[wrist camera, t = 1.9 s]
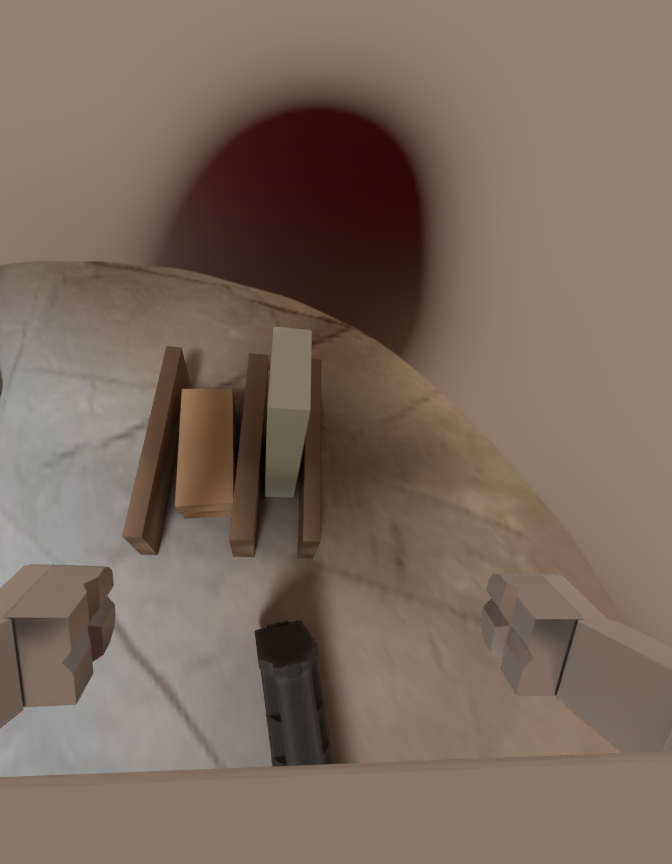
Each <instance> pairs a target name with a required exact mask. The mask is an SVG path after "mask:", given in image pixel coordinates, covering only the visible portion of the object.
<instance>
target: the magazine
mask: <svg viewBox="0 0 672 864" xmlns="http://www.w3.org/2000/svg"><path fill="white" fill-rule="evenodd" d="M255 638H256V646H257V655H258V663H259V668H260V669H261V676H262V683H263V691H264V699H265V708H266V718H267V724H268V732H269V740H270V749H271V759H272V765H273V767H274V766H298V765H323V764H333V759H332V753H331V743H330V739H329V734H328V728H327V722H326V715H325V709H324V699H323V696H322V690H321V683H320V676H319V670H318V663H317V655H318V651H317V644H316V643H315V641H314V640H313V638H312V637H311V635H310V633H309V632H308V630H307V629H306V627H305V626H304V624H303V623H302V621H294V622H290V623H289V622H288V621H284V622H279V623H275V624H270V625H267V628H263V629H259V630H256V631H255Z"/></svg>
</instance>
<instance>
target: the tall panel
mask: <svg viewBox="0 0 672 864" xmlns="http://www.w3.org/2000/svg"><path fill="white" fill-rule="evenodd" d="M311 344H312V330H305V329H295V328H284V327H273V340H272V353H271V366H270V379H269V392H268V405H267V438H266V474H265V497H288V498H294V493H295V488H296V482H297V477H298V472H299V467H300V461H301V456H302V451H303V446H304V441H305V435H306V430H307V425H308V420H309V415H310V399H311Z"/></svg>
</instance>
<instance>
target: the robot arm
mask: <svg viewBox="0 0 672 864" xmlns="http://www.w3.org/2000/svg"><path fill="white" fill-rule="evenodd" d="M113 586H114V583H113V573H112V570H111V569H110V568H109V567H103V566H76V565H49V564H30V565H26V566H23V567H22V568H21V569H20V570H19V571H18V572H17V573H16V574H15V575H14V576H13V577H12V578H11V579H10V580H8V581H7V582H6V583H5V584H4V585H3V586H2V587H1V588H0V728H1V727H3V726H4V725H5V724H6V723H8V722H9V721H10V720H11V719H13V718H14V717H15V716H16V715H18V714H19V713H20V712H21V711H23V707H37V706H58V705H76V704H77V702H78V700H79V698H80V697H81V695H82V693H83V691H84V689H85V687H86V686H87V684H88V682H89V680H90V678H91V677H92V675H93V665H92V662H94V661H95V660H96V659H98V658H99V657H101V656H102V655H104V653H105V651H106V649H107V647H108V645H109V643H110V640H111V636H112V633H113V630H114V624H115V604H114V603H113V602H112V601H111V600H110V599H109V597H108V596H107V595H108V594H109V592H110V591H111V589H112V587H113ZM487 592H488V593H489V595H490V597H491V599H490V600H489V601H488V602H487V603H486V604H485V605H484V606H483V610H482V616H481V627H482V634H483V637H484V640H485V643H486V645H487V647H488V648H489V650H490V652H491V653H493V654H494V655H496V656H497V657H498V658H500V659H501V660H502V664H501V668H500V669H501V671H502V672H503V674H504V676H505V677H506V679H507V681H508V682H509V684H510V686H511V687H512V689H513V691H514V693H515V694H516V696H557V697H556V699H558V700H559V701H560V702H561V703H563V704H564V705H565V706H566V707H567V708H569V709H570V710H571V711H572V712H573V713H575V714H576V715H577V716H578V717H579V718H581V719H582V720H583V721H584V722H585V723H587V724H588V725H589V726H590V727H591V728H593V729H594V730H595V731H596V732H597V733H599V734H600V735H601V736H602V737H604V738H605V739H606V740H607V741H608V742H610V743H611V744H612V745H613V746H614V747H616V748H617V749H618V750H619V751H620V752H622V753H609V754H586V755H560V756H532V757H505V758H478V759H451V760H423V761H398V762H373V763H348V764H323V765H298V766H274V767H249V768H224V769H199V770H173V771H148V772H122V773H97V774H71V775H46V776H21V777H0V864H672V648H671V647H669V646H667V645H665V644H663V643H661V642H659V641H657V640H654V639H652V638H650V637H648V636H646V635H644V634H642V633H640V632H638V631H636V630H634V629H632V628H630V627H628V626H626V625H624V624H622V623H620V622H618V621H616V620H608V619H607V618H606V617H605V616H604V615H603V614H601V613H600V612H599V611H598V610H597V609H596V608H595V607H594V606H593V605H592V604H591V603H590V602H589V601H588V600H587V599H586V598H585V597H584V596H583V595H582V594H581V593H580V592H579V591H578V590H577V589H576V588H575V587H573V586H572V585H571V584H570V583H569V582H568V581H567V580H566V579H565V578H564V577H563V576H562V575H559V574H557V573H535V574H492V576H491V577H490V579H489V581H488V586H487Z"/></svg>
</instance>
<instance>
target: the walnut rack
mask: <svg viewBox="0 0 672 864" xmlns="http://www.w3.org/2000/svg"><path fill="white" fill-rule="evenodd" d="M267 382H268V355H262V354H251V353H249V361H248V370H247V379H246V389H245V398H244V407H243V416H242V425H241V434H240V444H239V453H238V462H237V471H236V480H235V489H234V498H233V508H232V517H231V526H230V535H229V541H230V545H231V549H232V554H233V556H238V557H254V552H255V539H256V526H257V514H258V501H259V488H260V475H261V463H262V450H263V437H264V424H265V412H266V399H267ZM189 385H190V381H189V376H188V372H187V368H186V364H185V360H184V356H183V352H182V348H181V347H170V346H166V351H165V355H164V359H163V363H162V368H161V372H160V376H159V381H158V385H157V389H156V394H155V398H154V402H153V406H152V411H151V415H150V419H149V424H148V428H147V432H146V436H145V441H144V445H143V449H142V454H141V458H140V462H139V466H138V471H137V475H136V479H135V484H134V488H133V492H132V496H131V501H130V505H129V509H128V514H127V518H126V522H125V526H124V531H123V535H122V537H124V538H125V539H126V540H127V541H128V542H129V543H130V544H131V545H132V546H133V547H134V548H135V549H136V550H137V551H138V552H139V553H140V554H143V555H158V549H159V544H160V539H161V533H162V528H163V523H164V517H165V512H166V507H167V502H168V496H169V491H170V486H171V480H172V475H173V470H174V464H175V459H176V454H177V448H178V443H179V430H180V413H181V396H182V389H189ZM320 534H321V360H319V359H311V399H310V415H309V420H308V425H307V430H306V435H305V441H304V446H303V451H302V456H301V462H300V496H299V531H298V558H313V557H314V554H315V552H316V550H317V548H318V546H319V544H320Z"/></svg>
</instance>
